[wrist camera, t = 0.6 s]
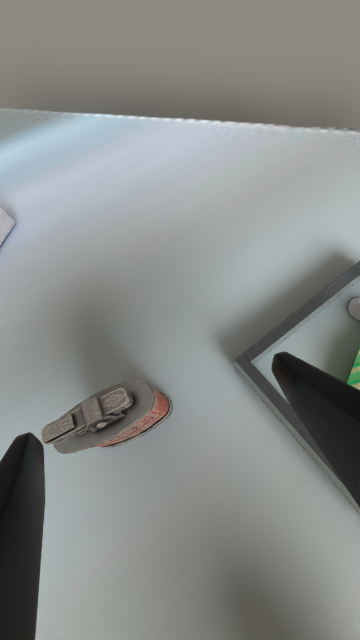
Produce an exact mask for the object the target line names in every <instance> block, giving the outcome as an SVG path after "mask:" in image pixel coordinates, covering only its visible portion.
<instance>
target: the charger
mask: <svg viewBox="0 0 360 640" xmlns="http://www.w3.org/2000/svg"><path fill="white" fill-rule="evenodd" d="M14 225H15V221H14V220H13V219H12V218H11V217H10V216H9V215H8V214H7V213H6V212H5V211H4V210H3V209H2V208H1V207H0V246H1V244H2V243H3V241H4V240H5V238H6V237H7V235H8V234H9V232H10V231H11V229H12V228H13V226H14Z"/></svg>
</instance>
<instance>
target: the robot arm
mask: <svg viewBox="0 0 360 640" xmlns="http://www.w3.org/2000/svg"><path fill="white" fill-rule="evenodd" d="M272 372H273V375H274V376H275V378H276V380H277V382H278V384H279V386H280V388H281V389H282V391H283V393H284V395H285V397H286V399H287V401H288V402H289V404H290V406H291V408H292V409H293V411H294V412H295V414H296V415H297V417H298V418H299V420H300V421H301V423H302V424H303V426H304V427H305V428H306V430H307V431H308V433H309V434H310V436H311V437H312V439H313V440H314V442H315V443H316V445H317V446H318V448H319V449H320V450H321V452H322V453H323V455H324V456H325V458H326V459H327V461H328V462H329V464H330V465H331V467H332V468H333V470H334V471H335V473H336V474H337V475H338V477H339V478H340V480H341V481H342V483H343V484H344V486H345V487H346V489H347V490H348V492H349V493H350V495H351V496H352V498H353V499H354V500H355V502H356V503H357V505H358V506H359V508H360V390H359V389H357V388H355V387H353V386H351V385H349V384H347V383H345V382H343V381H341V380H339V379H337V378H336V377H334V376H332V375H330V374H328V373H326V372H324V371H322V370H320V369H318V368H316V367H314V366H312V365H310V364H308V363H307V362H305V361H303V360H301V359H299V358H297V357H295V356H293V355H291V354H289V353H287V352H280V353H277V354H275V355H274V358H273V363H272ZM44 510H45V473H44V449H43V445H42V443H41V442H40V441H39V440H38V439H37V438H36V437H35V436H34V435H33V434H32V433H30V432H29V433H25V434H22V435H19V436H17V437H16V438H15V439H14V441H13V442H12V444H11V446H10V447H9V449H8V450H7V452H6V453H5V455H4V457H3V458H2V460H1V461H0V640H35V633H36V619H37V606H38V592H39V578H40V564H41V551H42V537H43V523H44Z"/></svg>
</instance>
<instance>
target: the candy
mask: <svg viewBox="0 0 360 640" xmlns="http://www.w3.org/2000/svg"><path fill="white" fill-rule="evenodd" d="M347 384H349V385H351V386H353V387H355V388H357V389H359V390H360V348H359V351H358V353H357V356H356V359H355V362H354V365H353V368H352V371H351V373H350V376H349V379H348V382H347Z"/></svg>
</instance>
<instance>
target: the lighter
mask: <svg viewBox="0 0 360 640" xmlns="http://www.w3.org/2000/svg"><path fill="white" fill-rule="evenodd" d="M171 412H172V402H171V400H170V398H169V397H168V396H167V395H166V394H164V393H162V392H157V391H155V390H153V389H152V387H151V386H150V385H149V384H147V383H146V382H145V381H142V380H139V379H138V380H132V381H128V382H125V383H122V384H118V385H115V386H113V387H110V388H108V389H106V390H103V391H101V392H99V393H96V394H95V395H93V396H91V397H90V398H88V399H86V400H85V401H83V402H81V403H80V404H78V405H76V406H75V407H74V408H72V409H71V410H70V411H68V412H67V413H66V414H64V415H63V416H62V417H60V418H59V419H58V420H56V421H54V422H52V423H50V424H48V425H46V426H45V427H44V428H43V429H42V431H41V437H42V441H43V443H44V444H53V446H54V448H55V449H56V450H57V451H58V452H60V453H62V454H67V453H74V452H77V451H81V450H84V449H88V448H91V447H102V448H110V447H114V446H118V445H121V444H124V443H127V442H130V441H132V440H134V439H136V438H139V437H141V436H143V435H144V434H146V433H148V432H149V431H151V430H152V429H154V428H156V427H157V426H158V425H159V424H161V423H162V422H163V421H164V420H166V419H167V418H168V417H169V416H170V415H171Z"/></svg>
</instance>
